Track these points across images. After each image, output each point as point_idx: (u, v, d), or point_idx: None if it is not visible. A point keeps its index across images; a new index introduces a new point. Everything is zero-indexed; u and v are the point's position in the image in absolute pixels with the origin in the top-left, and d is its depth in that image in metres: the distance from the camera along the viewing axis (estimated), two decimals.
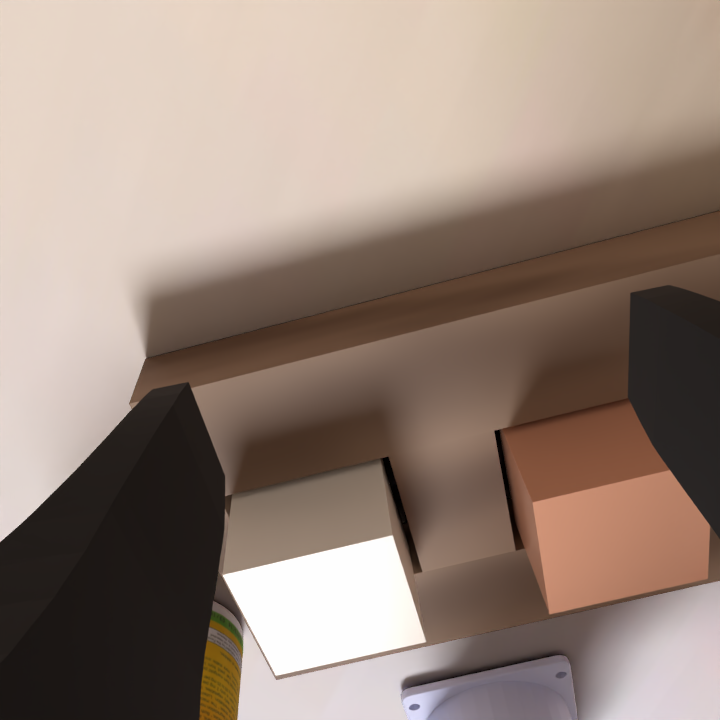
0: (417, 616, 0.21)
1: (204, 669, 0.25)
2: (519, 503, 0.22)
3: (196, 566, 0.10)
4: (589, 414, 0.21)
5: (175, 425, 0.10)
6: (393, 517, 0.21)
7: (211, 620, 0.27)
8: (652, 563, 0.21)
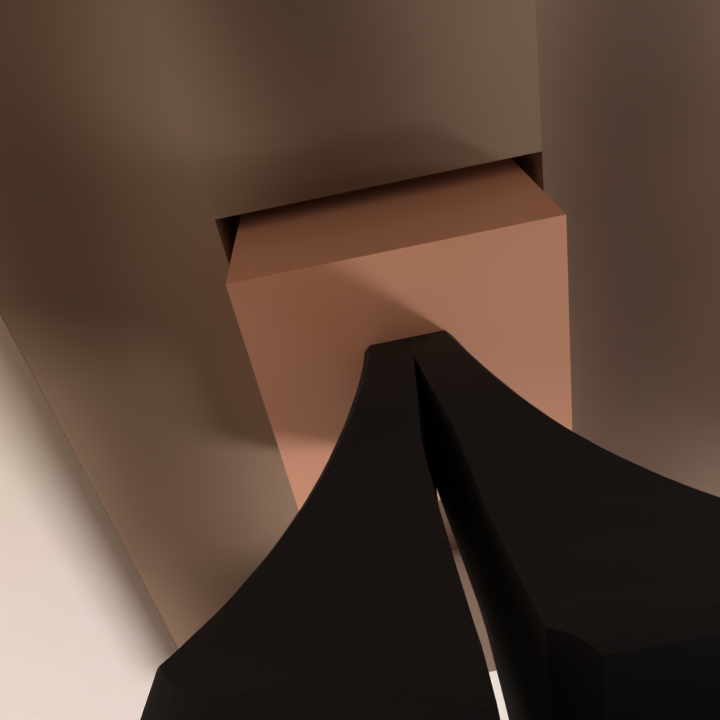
0: None
1: None
2: None
3: None
4: None
5: (416, 377, 0.10)
6: None
7: None
8: (487, 335, 0.11)
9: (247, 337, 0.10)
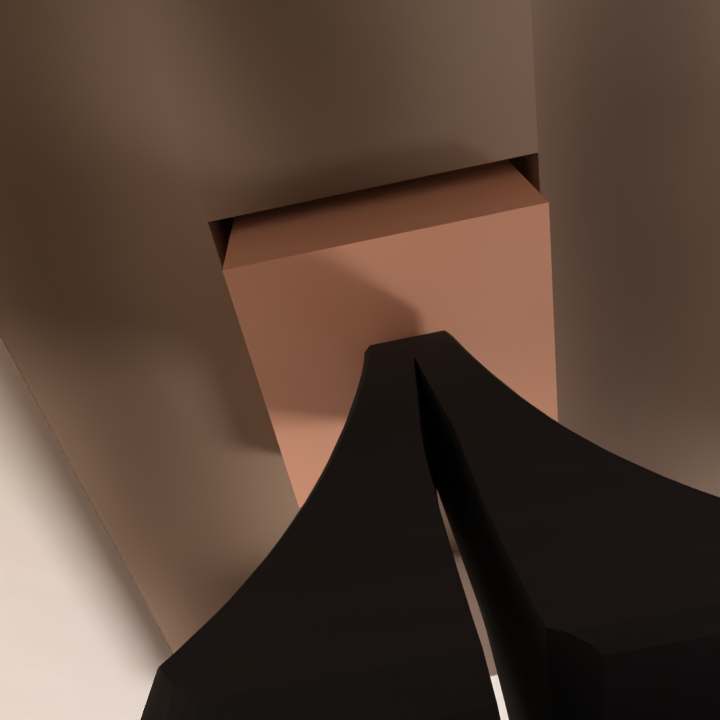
0: None
1: None
2: None
3: None
4: None
5: (416, 377, 0.10)
6: None
7: None
8: (474, 320, 0.11)
9: (243, 322, 0.11)
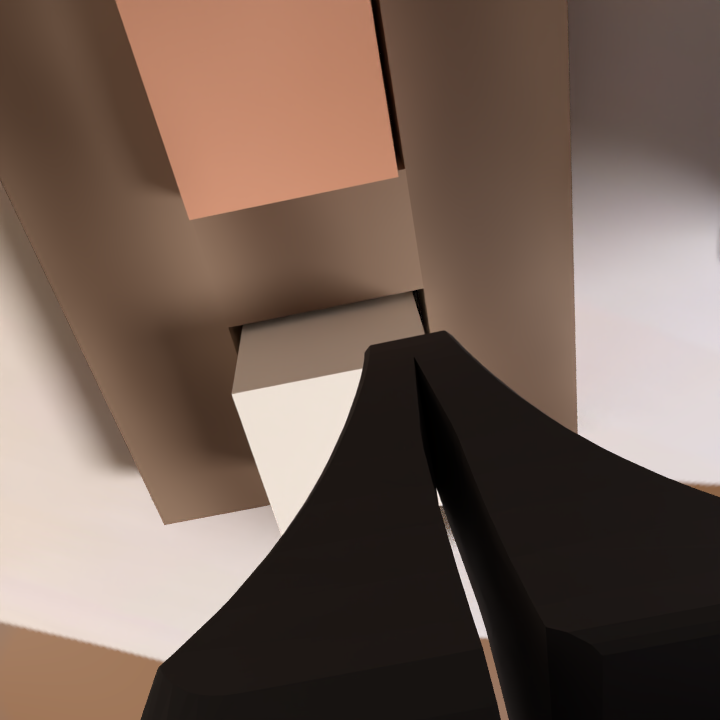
0: None
1: None
2: None
3: None
4: None
5: (416, 377, 0.10)
6: (279, 348, 0.18)
7: None
8: (312, 36, 0.14)
9: (129, 31, 0.14)
